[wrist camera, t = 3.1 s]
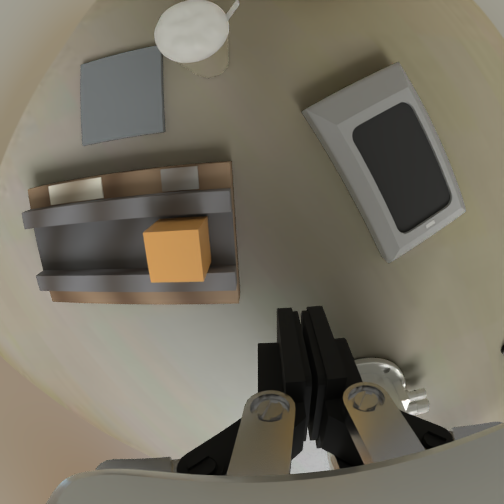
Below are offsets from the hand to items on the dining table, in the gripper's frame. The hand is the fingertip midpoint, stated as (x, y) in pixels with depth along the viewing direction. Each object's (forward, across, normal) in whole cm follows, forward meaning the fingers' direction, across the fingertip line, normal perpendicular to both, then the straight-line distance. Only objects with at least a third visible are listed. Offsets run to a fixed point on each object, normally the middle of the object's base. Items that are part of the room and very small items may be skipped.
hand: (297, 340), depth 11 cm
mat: (+17, +13, -13) cm, 25 cm away
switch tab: (+14, +7, 0) cm, 16 cm away
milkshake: (+17, +4, -15) cm, 23 cm away
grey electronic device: (+17, -10, -6) cm, 21 cm away
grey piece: (+17, +13, 0) cm, 21 cm away
